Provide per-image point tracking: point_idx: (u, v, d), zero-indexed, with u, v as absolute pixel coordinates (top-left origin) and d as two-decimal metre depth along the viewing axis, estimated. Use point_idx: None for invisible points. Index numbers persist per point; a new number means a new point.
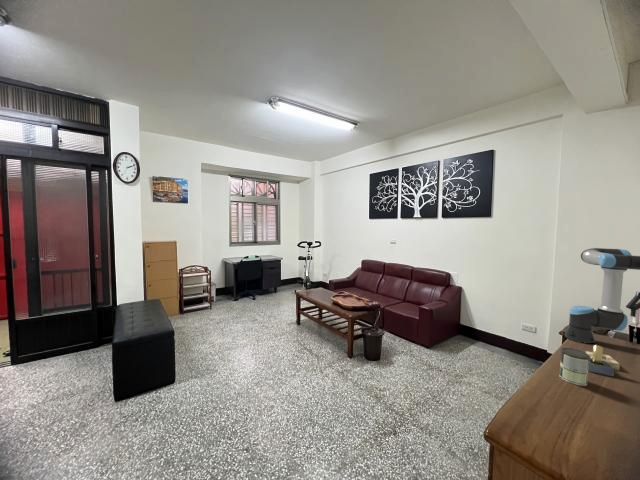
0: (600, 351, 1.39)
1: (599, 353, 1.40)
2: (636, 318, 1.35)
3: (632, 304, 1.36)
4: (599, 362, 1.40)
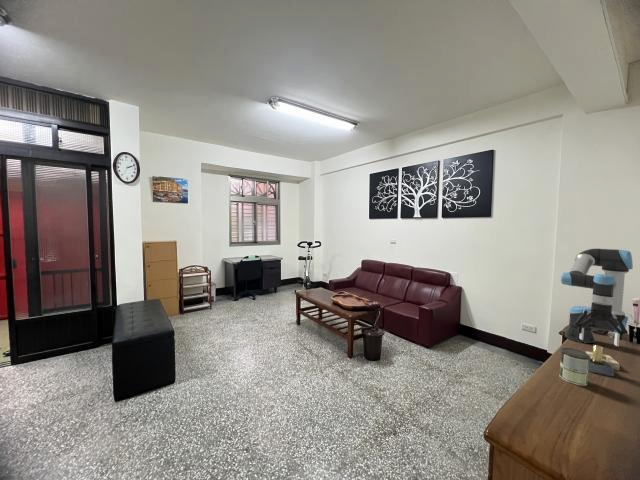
0: (600, 351, 1.39)
1: (599, 353, 1.40)
2: (582, 335, 1.43)
3: (578, 321, 1.44)
4: (599, 362, 1.40)
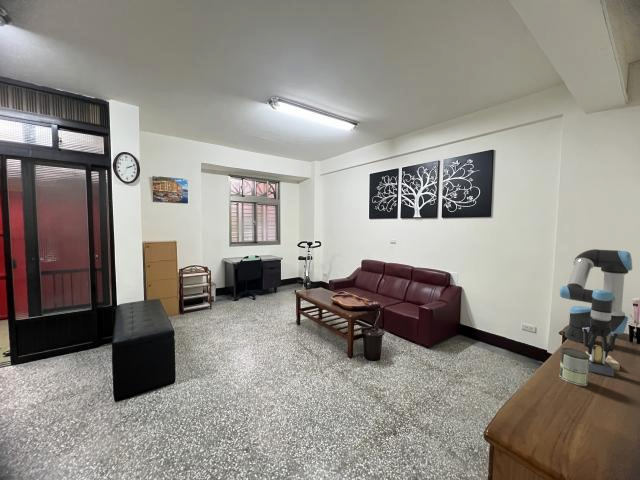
0: (600, 351, 1.39)
1: (599, 353, 1.40)
2: (592, 356, 1.41)
3: (586, 342, 1.43)
4: (599, 362, 1.40)
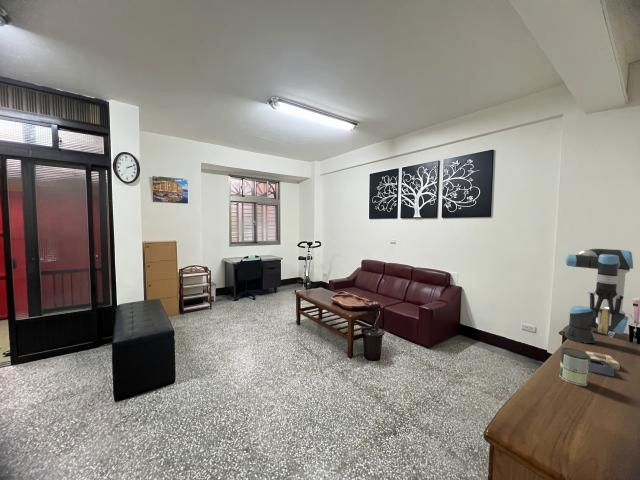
0: (606, 314, 1.44)
1: (605, 316, 1.44)
2: (599, 319, 1.46)
3: (592, 305, 1.47)
4: (605, 324, 1.44)
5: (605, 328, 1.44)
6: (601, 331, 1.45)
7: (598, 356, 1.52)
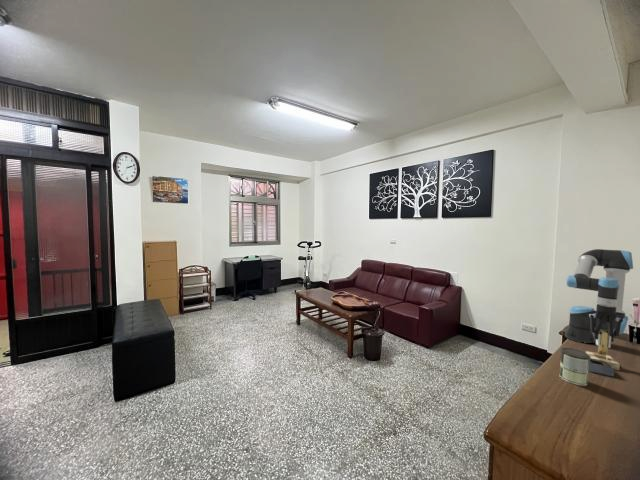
0: (606, 336, 1.47)
1: (605, 338, 1.47)
2: (598, 341, 1.49)
3: (592, 327, 1.50)
4: (605, 347, 1.47)
5: (605, 350, 1.47)
6: (601, 353, 1.48)
7: (598, 356, 1.52)
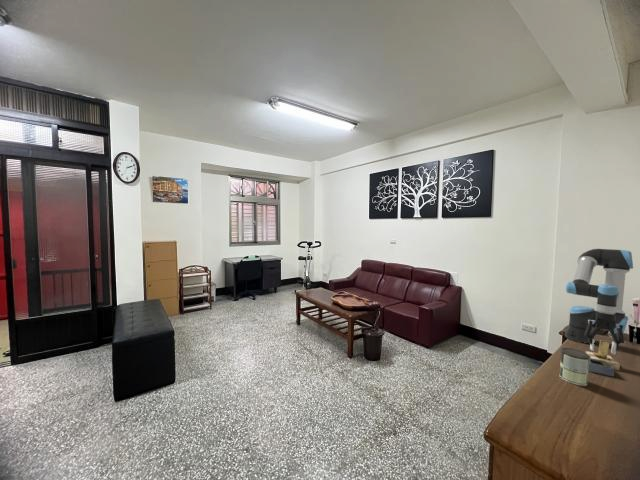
0: (606, 346, 1.47)
1: (605, 347, 1.47)
2: (592, 345, 1.50)
3: (588, 332, 1.51)
4: (605, 356, 1.47)
5: None
6: None
7: None
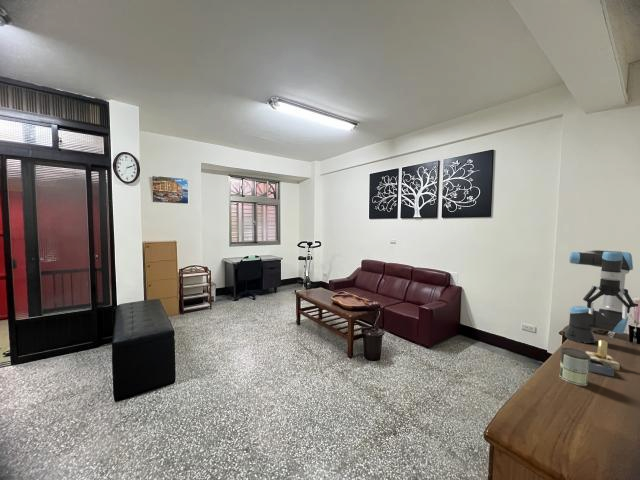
0: (605, 346, 1.47)
1: (604, 347, 1.47)
2: (591, 309, 1.51)
3: (588, 297, 1.51)
4: (604, 356, 1.47)
5: None
6: None
7: None
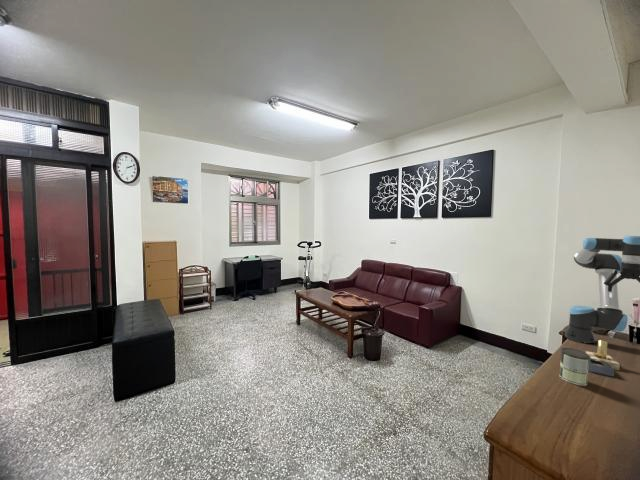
0: (605, 345, 1.47)
1: (604, 347, 1.47)
2: (612, 293, 1.53)
3: (609, 281, 1.53)
4: (604, 356, 1.47)
5: None
6: None
7: None
